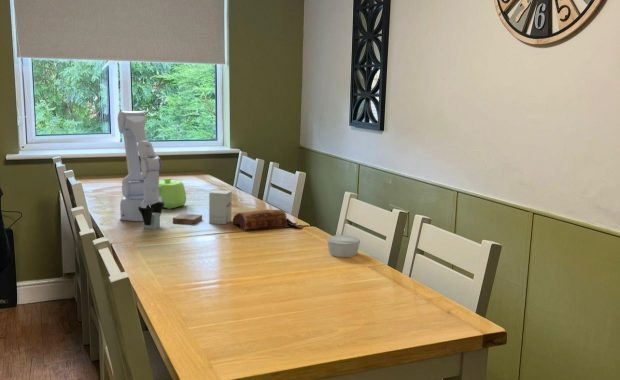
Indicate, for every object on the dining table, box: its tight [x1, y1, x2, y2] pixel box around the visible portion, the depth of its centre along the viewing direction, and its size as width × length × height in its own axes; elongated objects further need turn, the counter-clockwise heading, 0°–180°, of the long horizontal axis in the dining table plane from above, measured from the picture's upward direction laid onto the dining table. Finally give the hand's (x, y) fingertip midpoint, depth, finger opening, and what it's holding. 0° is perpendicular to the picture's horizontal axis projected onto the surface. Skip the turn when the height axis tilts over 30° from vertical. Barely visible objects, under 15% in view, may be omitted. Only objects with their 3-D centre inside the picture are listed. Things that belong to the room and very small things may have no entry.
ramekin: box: [326, 234, 361, 258], centre depth 201 cm, size 11×11×5 cm
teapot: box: [159, 177, 187, 210], centre depth 271 cm, size 18×20×13 cm
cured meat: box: [232, 209, 303, 231], centre depth 239 cm, size 18×25×7 cm
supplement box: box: [208, 189, 233, 225], centre depth 242 cm, size 7×7×13 cm
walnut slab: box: [172, 213, 203, 225], centre depth 243 cm, size 9×9×2 cm
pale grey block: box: [143, 212, 161, 230], centre depth 230 cm, size 4×4×6 cm
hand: (151, 222), depth 231 cm, fingers open, 7 cm apart
